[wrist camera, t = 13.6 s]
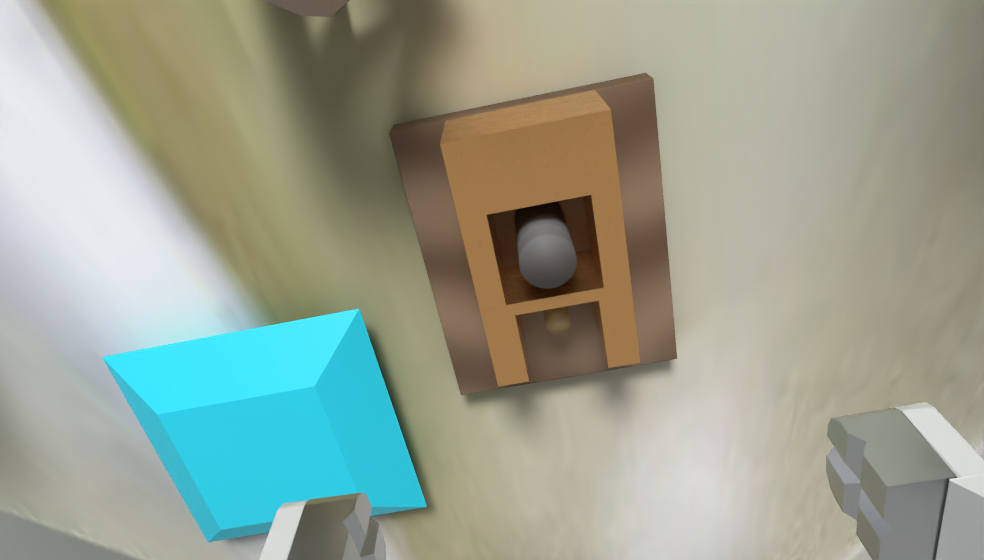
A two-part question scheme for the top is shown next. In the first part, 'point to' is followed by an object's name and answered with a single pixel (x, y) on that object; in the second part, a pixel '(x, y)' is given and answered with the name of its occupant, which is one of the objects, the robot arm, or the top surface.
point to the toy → (310, 6)
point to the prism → (271, 421)
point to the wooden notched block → (533, 181)
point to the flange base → (581, 315)
